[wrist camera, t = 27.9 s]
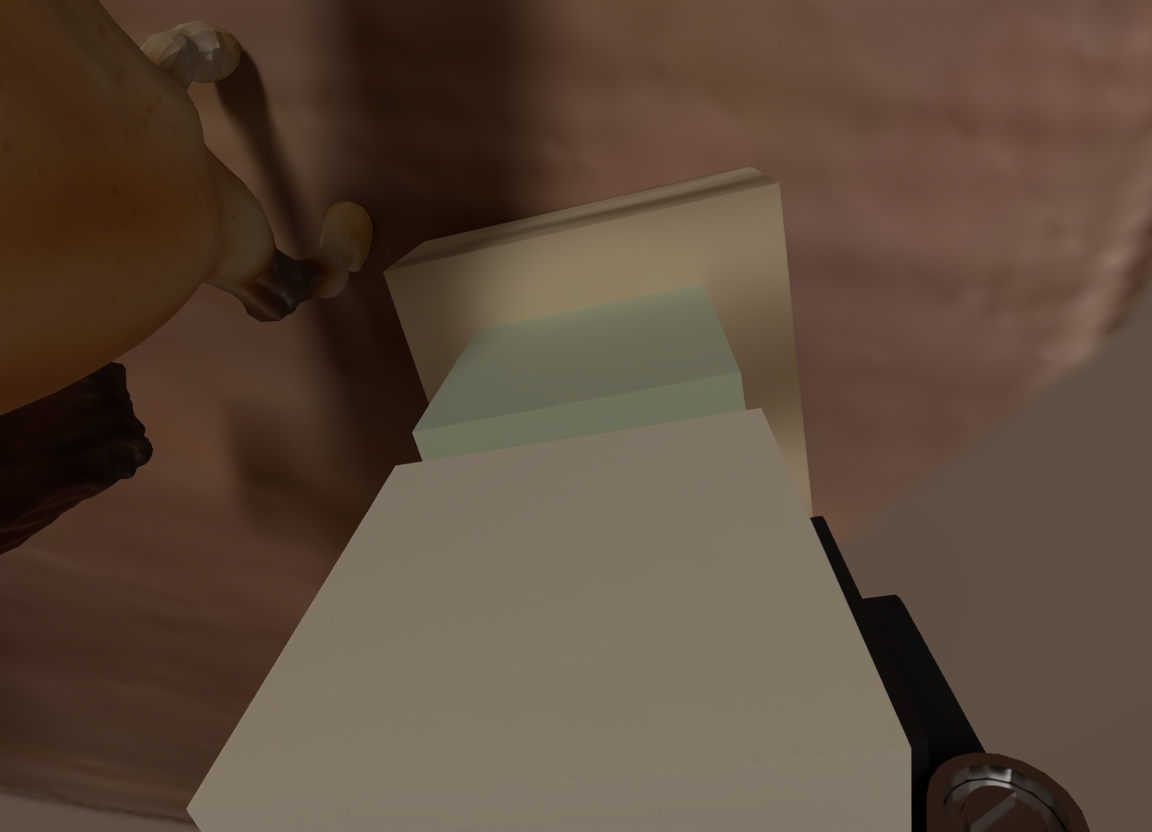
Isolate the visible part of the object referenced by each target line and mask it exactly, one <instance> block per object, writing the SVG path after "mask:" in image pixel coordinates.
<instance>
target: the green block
mask: <svg viewBox="0 0 1152 832" xmlns="http://www.w3.org/2000/svg"><path fill="white" fill-rule="evenodd" d="M739 411H746V408H745V400H744V393H743V386H742V378H741V372H740V369H739V367H738V365H737V362H736V360H735V358H734V355H733V353H732V350H731V348H730V346H729V343H728V341H727V339H726V336H725V334H724V331H723V329H722V327H721V324H720V322H719V320H718V317H717V315H716V313H715V310H714V308H713V305H712V303H711V301H710V298H709V296H708V294H707V291H706V289H705V287H704V284H699V285H695V286H690V287H685V288H680V289H675V290H670V291H665V292H660V293H655V294H651V295H646V296H641V297H636V298H631V299H626V300H621V301H616V302H611V303H607V304H602V305H597V306H592V307H587V308H582V309H577V310H572V311H567V312H563V313H558V314H553V315H548V316H543V317H538V318H533V319H528V320H523V321H519V322H514V323H509V324H504V325H499V326H494V327H489V328H484V329H479V330H476V331H475V333H474V334H473V336H472V337H471V339H470V341H469V342H468V344H467V345H466V347H465V349H464V350H463V352H462V353H461V355H460V357H459V358H458V360H457V361H456V363H455V365H454V366H453V368H452V369H451V371H450V373H449V374H448V376H447V377H446V379H445V380H444V382H443V384H442V385H441V387H440V388H439V390H438V392H437V393H436V395H435V396H434V398H433V400H432V401H431V403H430V404H429V406H428V408H427V409H426V411H425V412H424V414H423V416H422V417H421V419H420V420H419V422H418V424H417V425H416V427H415V428H414V430H413V432H412V434H413V436H414V439H415V442H416V444H417V447H418V450H419V453H420V455H421V458H422V461H429V460H435V459H442V458H448V457H454V456H461V455H467V454H473V453H480V452H486V451H492V450H499V449H505V448H511V447H518V446H524V445H530V444H537V443H543V442H549V441H556V440H562V439H568V438H575V437H581V436H587V435H594V434H600V433H606V432H613V431H619V430H625V429H632V428H638V427H644V426H651V425H657V424H663V423H670V422H676V421H682V420H689V419H695V418H701V417H708V416H714V415H720V414H727V413H733V412H739Z"/></svg>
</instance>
